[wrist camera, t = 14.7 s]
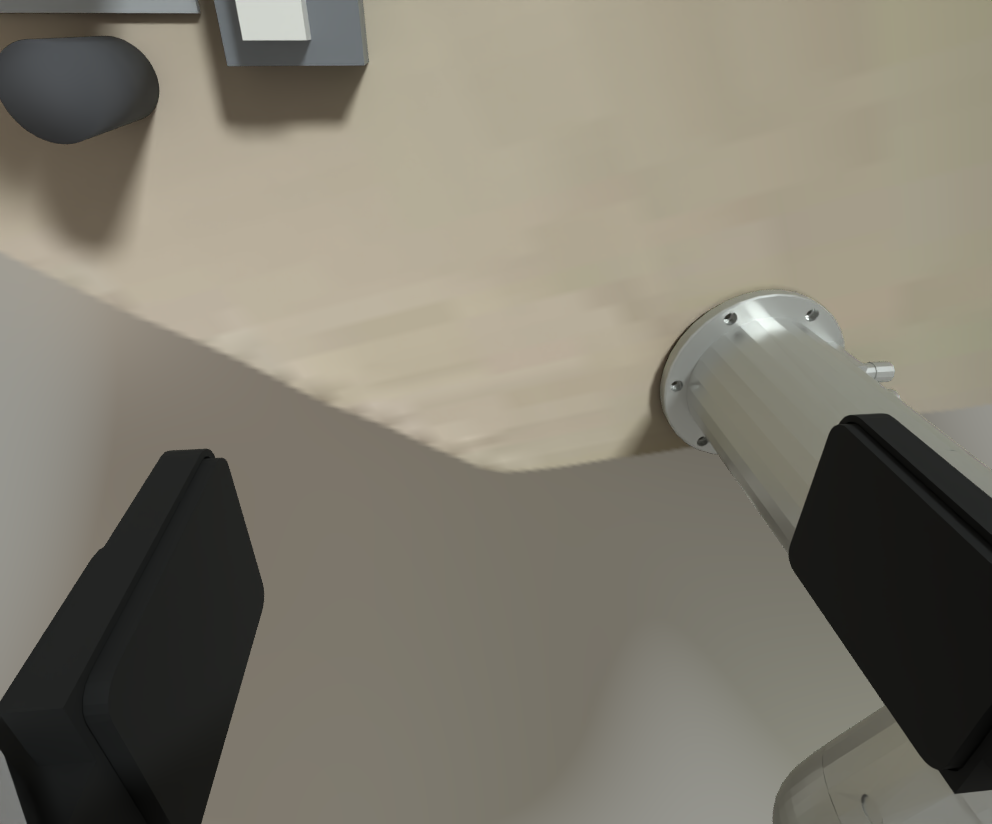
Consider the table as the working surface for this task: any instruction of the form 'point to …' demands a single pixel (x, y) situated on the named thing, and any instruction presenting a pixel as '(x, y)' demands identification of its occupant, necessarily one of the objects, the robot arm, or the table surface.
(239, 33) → the grey button panel
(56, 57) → the dark grey capsule
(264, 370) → the table surface
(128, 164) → the table surface
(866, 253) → the table surface
